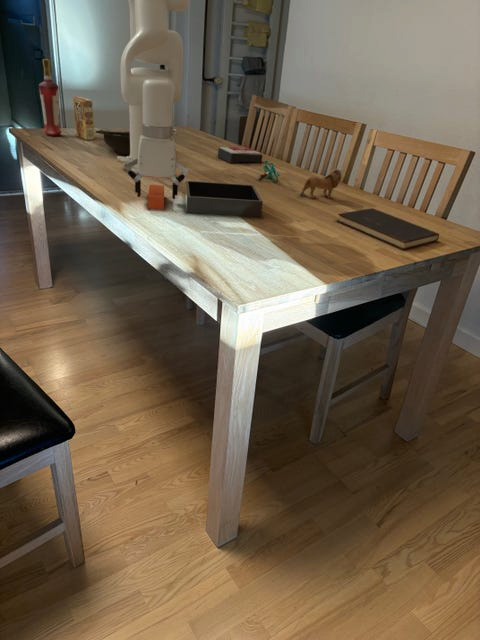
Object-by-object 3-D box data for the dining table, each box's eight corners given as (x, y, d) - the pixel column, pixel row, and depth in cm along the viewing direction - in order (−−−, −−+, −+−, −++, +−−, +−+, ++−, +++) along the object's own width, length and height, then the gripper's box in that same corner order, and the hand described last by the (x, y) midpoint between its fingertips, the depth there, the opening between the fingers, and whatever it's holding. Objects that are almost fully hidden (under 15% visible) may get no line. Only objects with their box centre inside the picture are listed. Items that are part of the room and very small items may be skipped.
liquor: (46, 132, 202) (38, 58, 188) (64, 134, 203) (58, 60, 189) (41, 135, 195) (33, 59, 181) (60, 137, 197) (53, 61, 182)
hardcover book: (402, 250, 121) (405, 241, 120) (336, 221, 136) (338, 213, 135) (437, 241, 130) (440, 233, 129) (371, 215, 145) (373, 207, 144)
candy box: (95, 139, 200) (93, 100, 192) (85, 140, 197) (83, 100, 190) (84, 135, 205) (82, 96, 197) (75, 135, 202) (72, 96, 195)
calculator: (263, 153, 192) (231, 151, 185) (261, 164, 194) (230, 163, 187) (249, 147, 200) (218, 145, 192) (247, 157, 202) (217, 156, 194)
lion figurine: (331, 193, 162) (337, 167, 158) (340, 198, 158) (346, 171, 154) (295, 195, 156) (300, 167, 152) (304, 200, 152) (309, 171, 148)
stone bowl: (130, 160, 173) (128, 133, 169) (82, 152, 185) (79, 127, 180) (173, 151, 192) (172, 127, 187) (127, 145, 203) (125, 121, 199)
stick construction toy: (284, 177, 166) (272, 158, 163) (268, 189, 165) (256, 169, 163) (273, 178, 177) (262, 160, 174) (258, 189, 176) (247, 171, 174)
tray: (186, 214, 128) (187, 196, 126) (184, 196, 142) (185, 180, 140) (260, 218, 132) (262, 201, 129) (252, 200, 146) (253, 185, 143)
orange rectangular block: (148, 209, 128) (148, 196, 127) (149, 196, 139) (149, 184, 137) (163, 210, 129) (163, 197, 127) (163, 197, 139) (164, 185, 137)
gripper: (189, 132, 129) (186, 194, 138) (124, 126, 126) (126, 190, 135) (190, 137, 123) (187, 202, 131) (122, 131, 120) (123, 198, 129)
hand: (156, 196), depth 133 cm, fingers open, 9 cm apart
